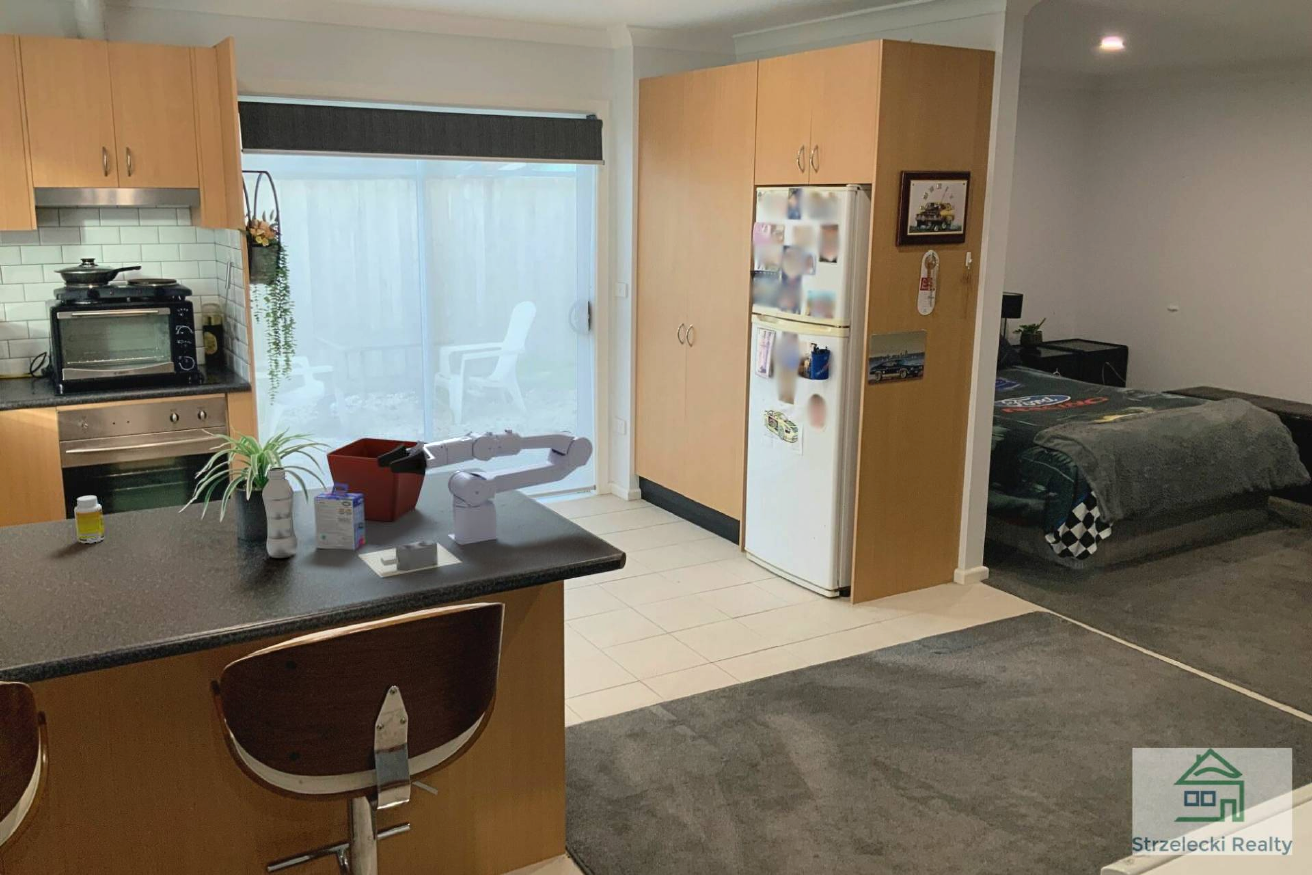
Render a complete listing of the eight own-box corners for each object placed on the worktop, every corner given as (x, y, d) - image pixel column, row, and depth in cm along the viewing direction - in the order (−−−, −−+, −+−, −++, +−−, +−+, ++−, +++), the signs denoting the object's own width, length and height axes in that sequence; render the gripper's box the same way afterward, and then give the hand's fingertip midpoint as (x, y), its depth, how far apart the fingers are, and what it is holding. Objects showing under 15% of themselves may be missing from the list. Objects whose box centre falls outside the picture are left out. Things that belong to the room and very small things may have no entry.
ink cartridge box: (367, 544, 242) (364, 483, 239) (356, 552, 237) (352, 490, 234) (327, 541, 244) (323, 480, 241) (315, 548, 239) (311, 487, 235)
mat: (435, 543, 243) (435, 541, 243) (462, 564, 230) (461, 562, 230) (358, 557, 234) (357, 554, 233) (380, 580, 220) (380, 577, 220)
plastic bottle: (305, 553, 235) (299, 467, 231) (282, 563, 229) (276, 474, 225) (283, 549, 238) (276, 463, 233) (260, 558, 232) (253, 471, 227)
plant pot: (434, 505, 272) (431, 441, 268) (400, 527, 254) (397, 460, 250) (366, 499, 276) (363, 437, 272) (328, 521, 258) (324, 454, 254)
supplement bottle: (108, 541, 242) (103, 498, 240) (81, 546, 239) (75, 502, 237) (102, 534, 247) (97, 492, 244) (75, 539, 243) (70, 497, 241)
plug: (434, 558, 231) (433, 539, 230) (440, 564, 228) (439, 544, 227) (380, 568, 225) (379, 548, 224) (386, 574, 222) (385, 554, 221)
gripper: (427, 431, 243) (370, 442, 235) (453, 441, 231) (394, 452, 224) (430, 461, 244) (374, 473, 237) (456, 472, 233) (398, 484, 225)
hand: (384, 465), depth 230 cm, fingers open, 7 cm apart
